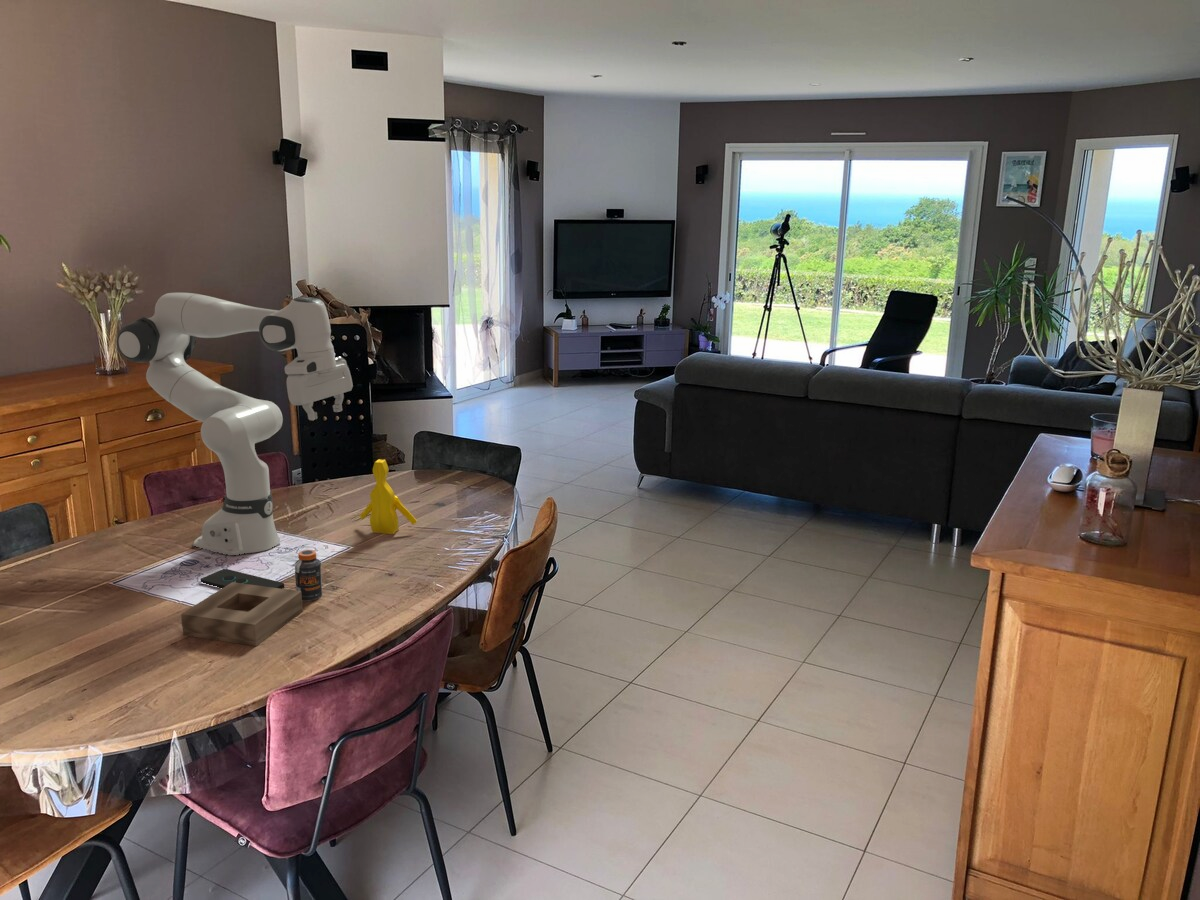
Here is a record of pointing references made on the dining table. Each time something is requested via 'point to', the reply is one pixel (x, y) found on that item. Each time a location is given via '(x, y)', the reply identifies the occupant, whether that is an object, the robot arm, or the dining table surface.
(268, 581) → the smart home device
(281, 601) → the walnut holder
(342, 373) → the robot arm
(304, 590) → the pill bottle
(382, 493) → the figure statuette
